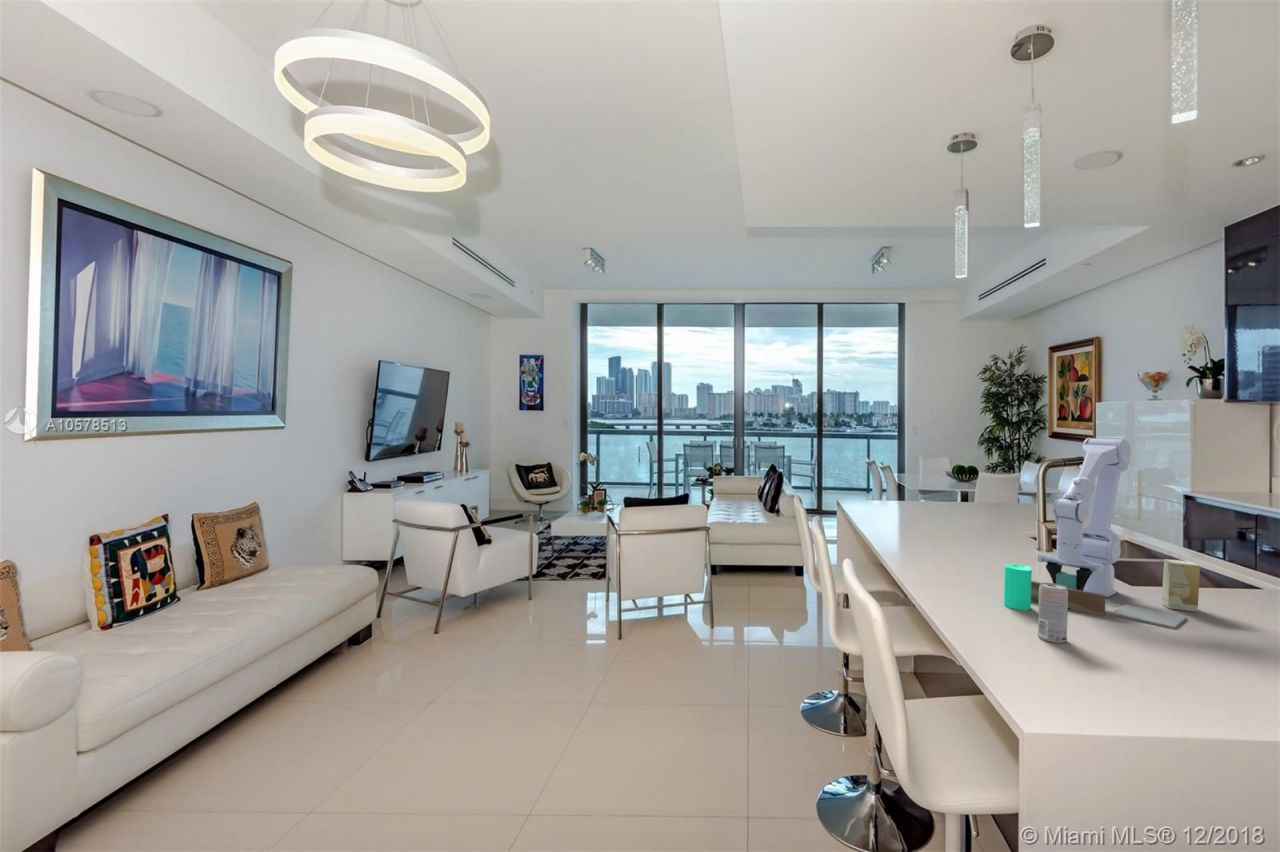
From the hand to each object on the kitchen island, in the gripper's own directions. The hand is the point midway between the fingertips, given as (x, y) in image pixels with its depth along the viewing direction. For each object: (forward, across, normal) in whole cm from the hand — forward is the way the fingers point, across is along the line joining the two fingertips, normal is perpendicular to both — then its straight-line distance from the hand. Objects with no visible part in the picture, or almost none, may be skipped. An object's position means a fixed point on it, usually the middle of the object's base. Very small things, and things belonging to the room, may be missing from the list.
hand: (1068, 592), depth 161 cm
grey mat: (+2, +17, 0) cm, 17 cm away
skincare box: (+2, +20, +16) cm, 26 cm away
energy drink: (+2, +8, -37) cm, 38 cm away
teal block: (+2, 0, 0) cm, 2 cm away
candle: (+2, -6, -18) cm, 19 cm away
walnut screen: (+2, 0, -8) cm, 8 cm away
